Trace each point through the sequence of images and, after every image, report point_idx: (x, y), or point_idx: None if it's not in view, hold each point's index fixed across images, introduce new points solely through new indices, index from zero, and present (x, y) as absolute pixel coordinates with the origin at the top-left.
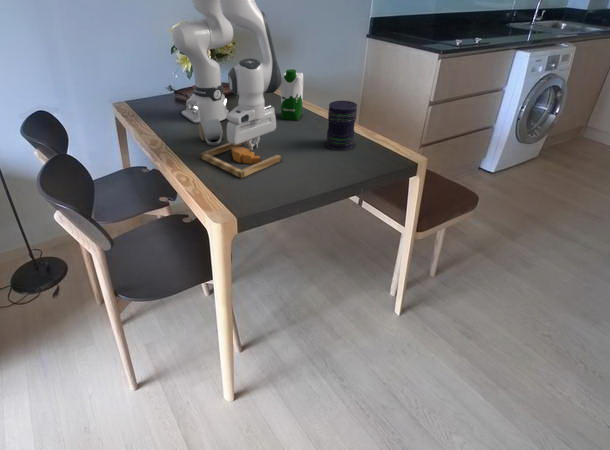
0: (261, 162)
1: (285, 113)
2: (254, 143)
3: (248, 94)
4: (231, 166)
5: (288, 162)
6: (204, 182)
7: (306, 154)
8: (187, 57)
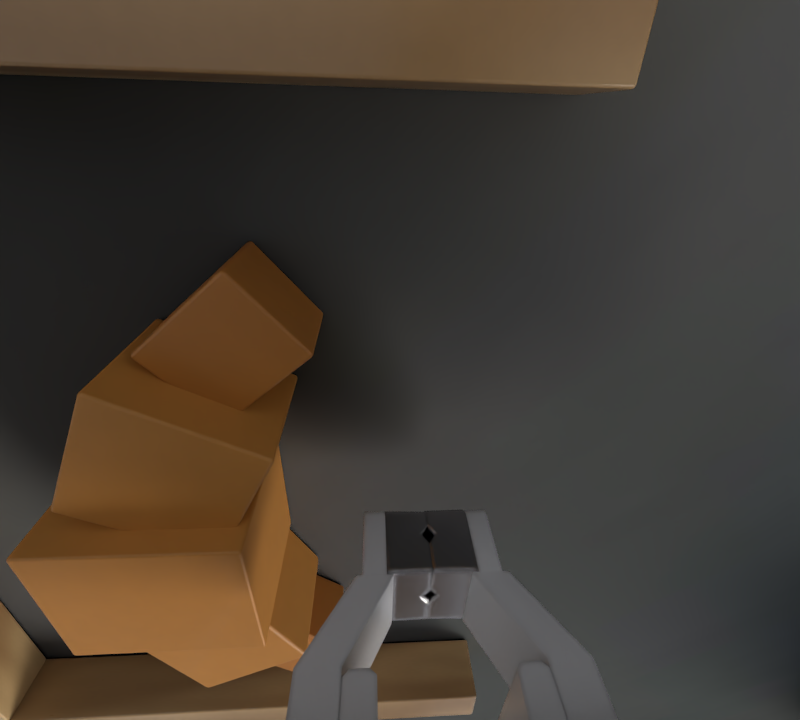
0: (254, 717)
1: None
2: (467, 593)
3: None
4: None
5: (480, 684)
6: None
7: (668, 674)
8: None
